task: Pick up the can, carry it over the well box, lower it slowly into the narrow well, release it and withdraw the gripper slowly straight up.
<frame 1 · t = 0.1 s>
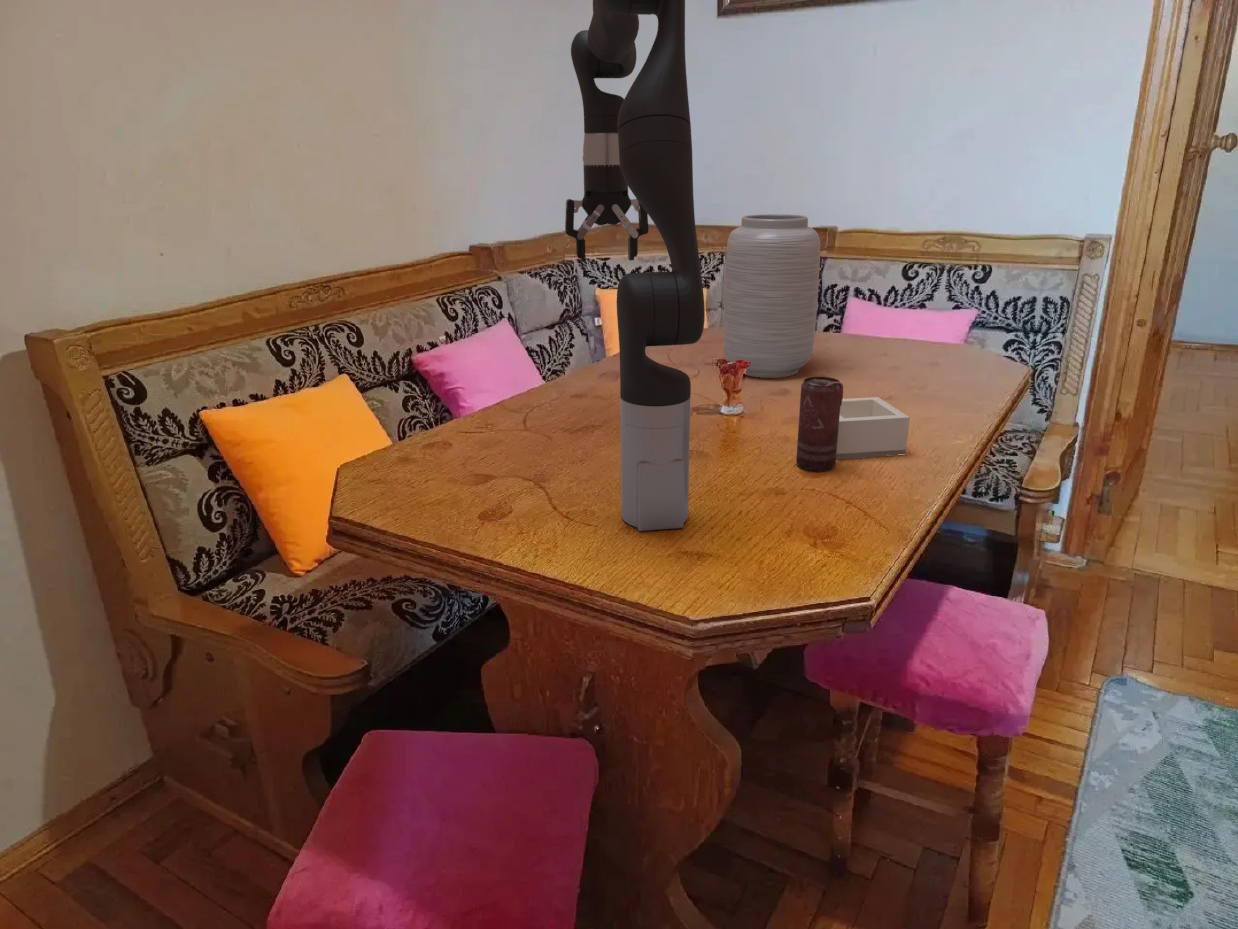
hand: (607, 260, 148), 29 cm above the table, fingers open, 8 cm apart
can: (816, 466, 135), on the table
vase: (766, 371, 192), on the table
well: (855, 445, 143), on the table
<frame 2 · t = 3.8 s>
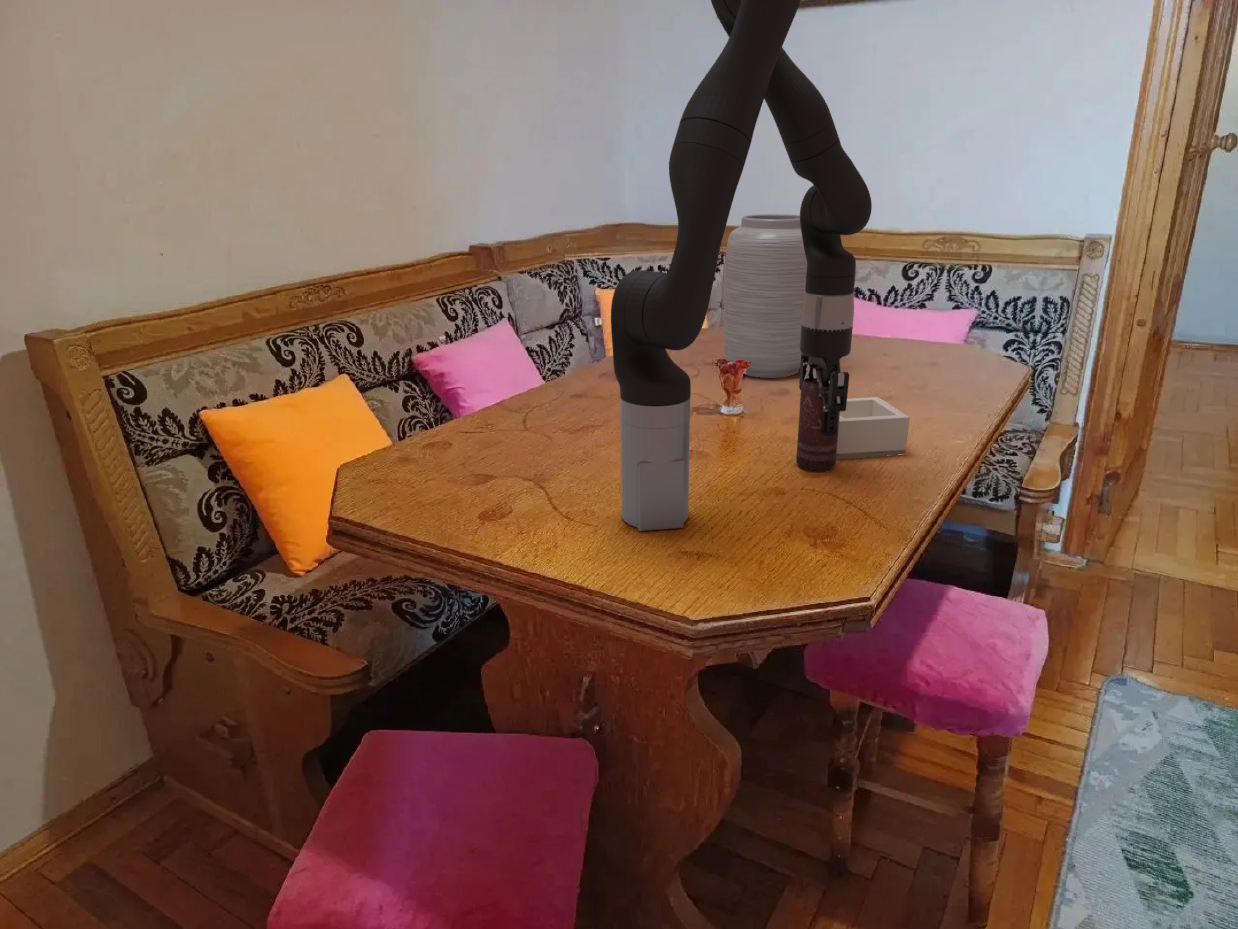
hand: (819, 427, 132), 6 cm above the table, fingers open, 7 cm apart
nothing on the table moved.
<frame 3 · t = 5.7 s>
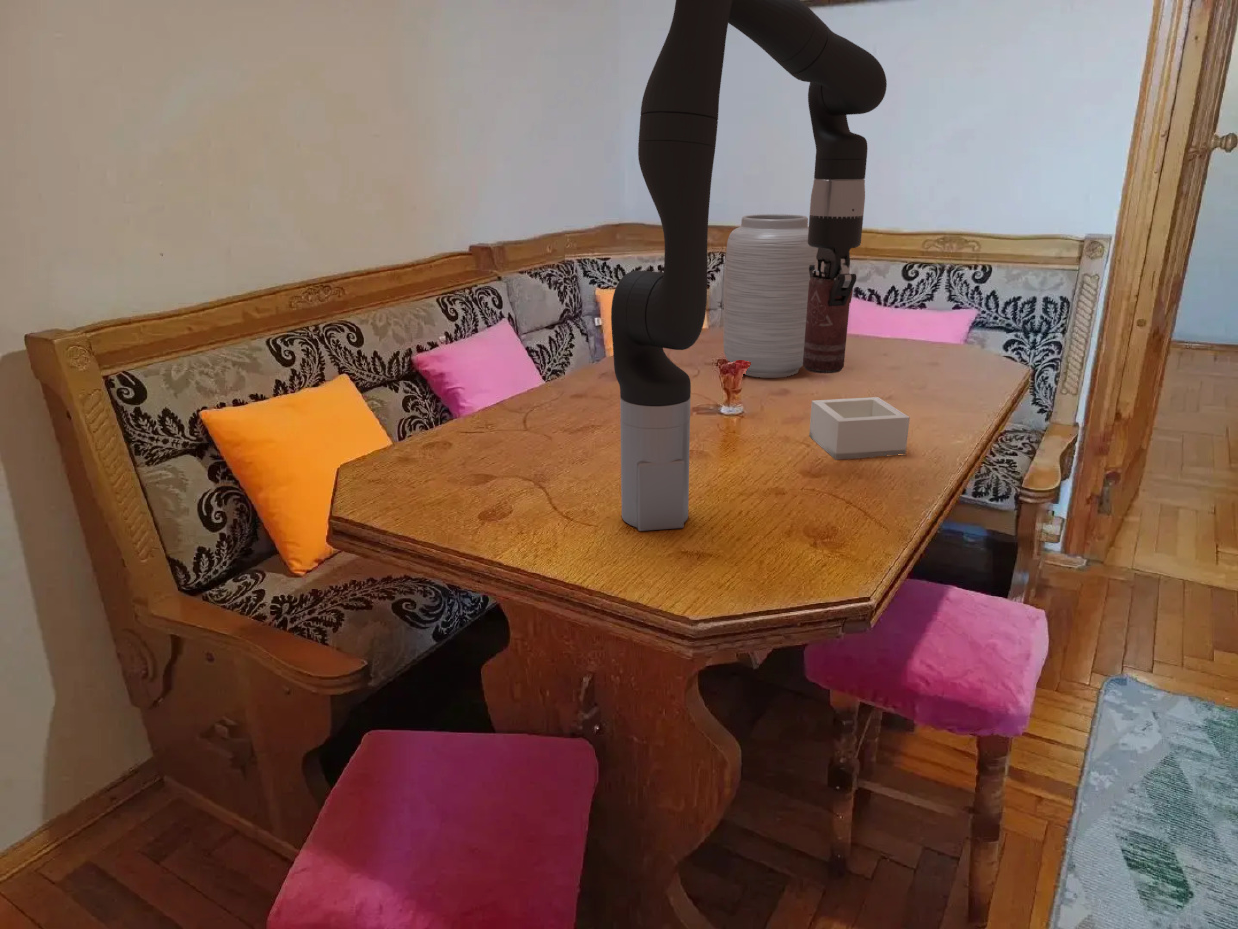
hand: (826, 332, 127), 21 cm above the table, fingers closed
can: (823, 370, 129), point 16 cm above the table, touching hand
everything else where it was.
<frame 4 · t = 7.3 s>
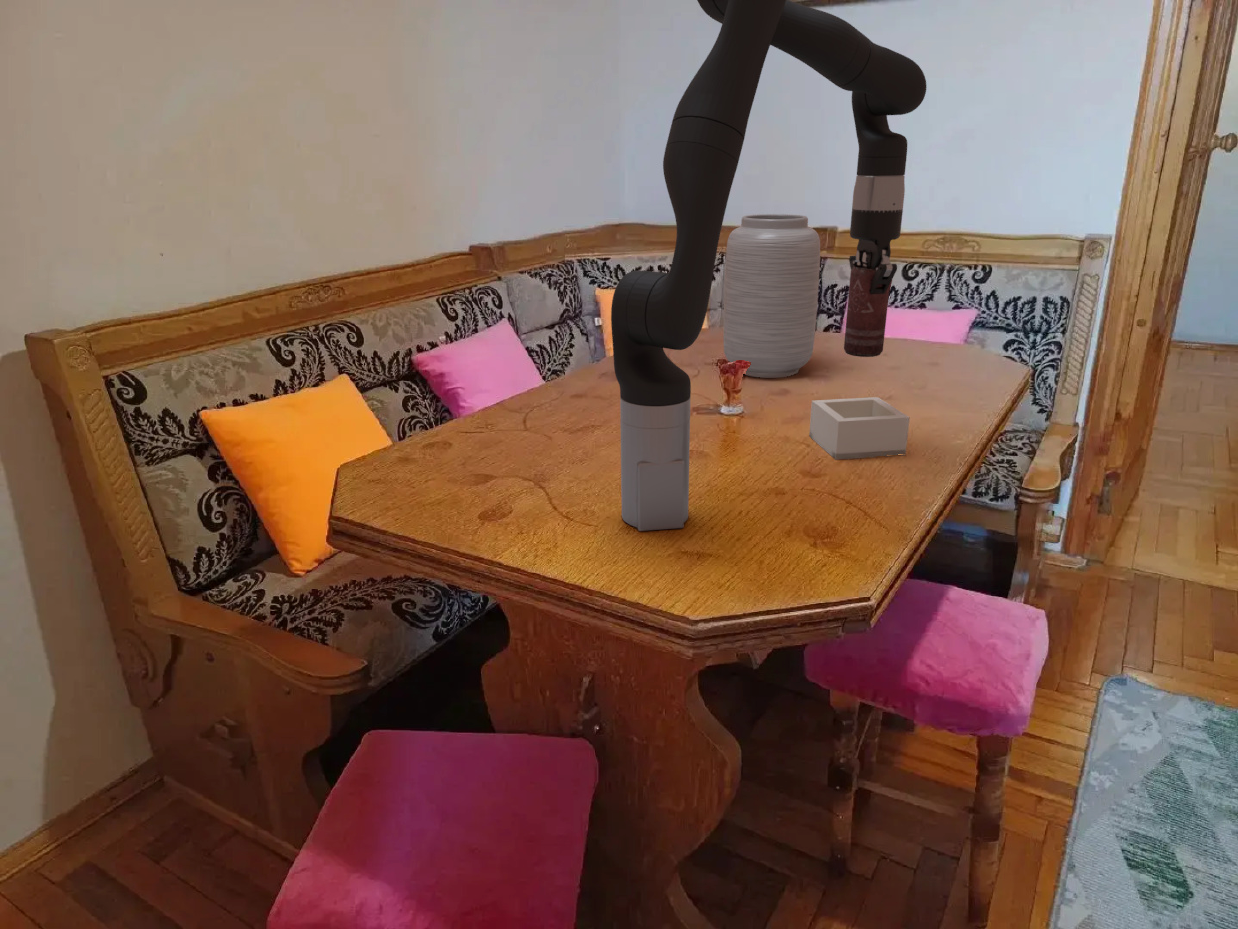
hand: (866, 319, 136), 22 cm above the table, fingers closed
can: (863, 354, 138), point 16 cm above the table, touching hand
everything else where it was.
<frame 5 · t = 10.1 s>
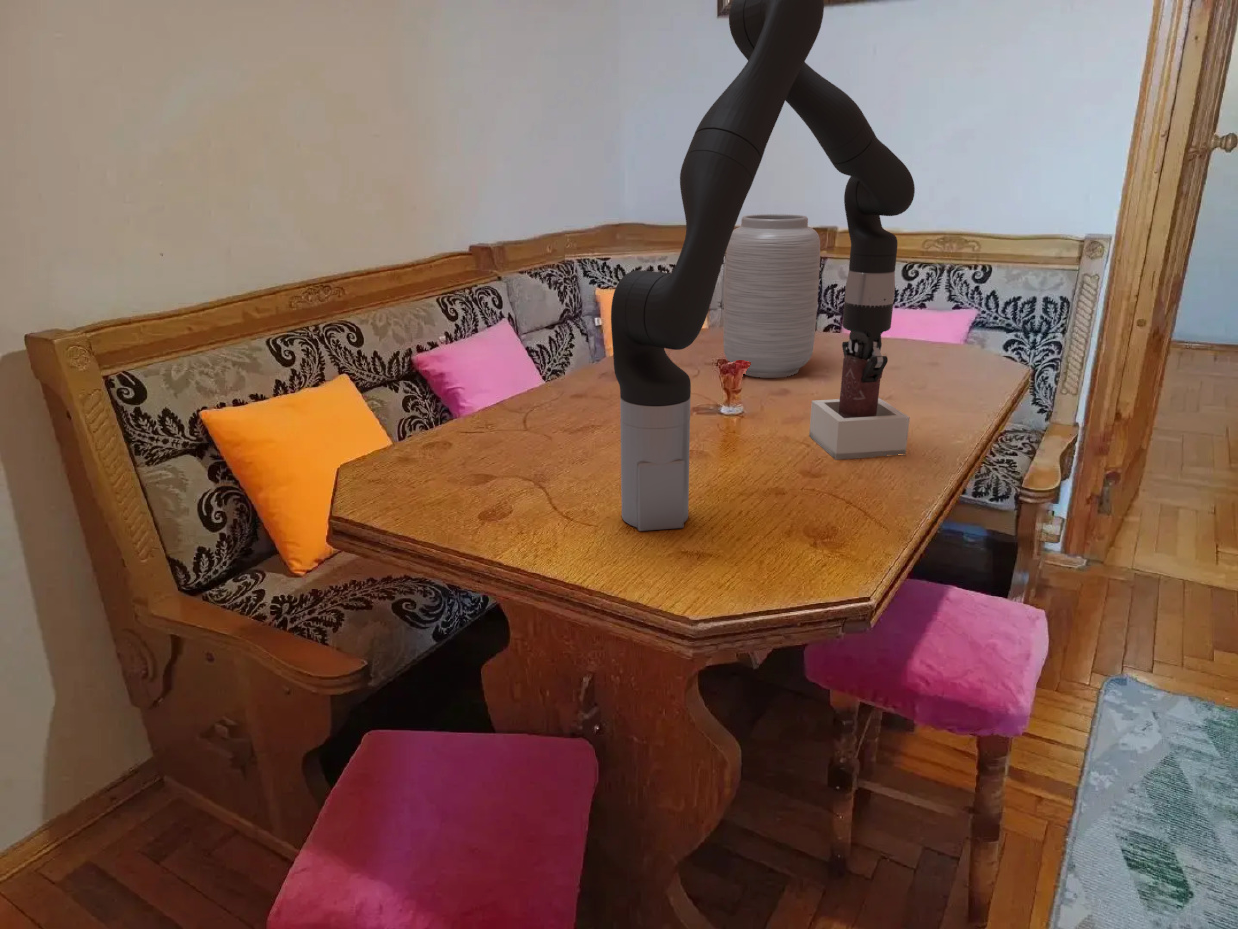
hand: (859, 403, 141), 7 cm above the table, fingers closed
can: (856, 436, 143), point 2 cm above the table, touching hand
everything else where it was.
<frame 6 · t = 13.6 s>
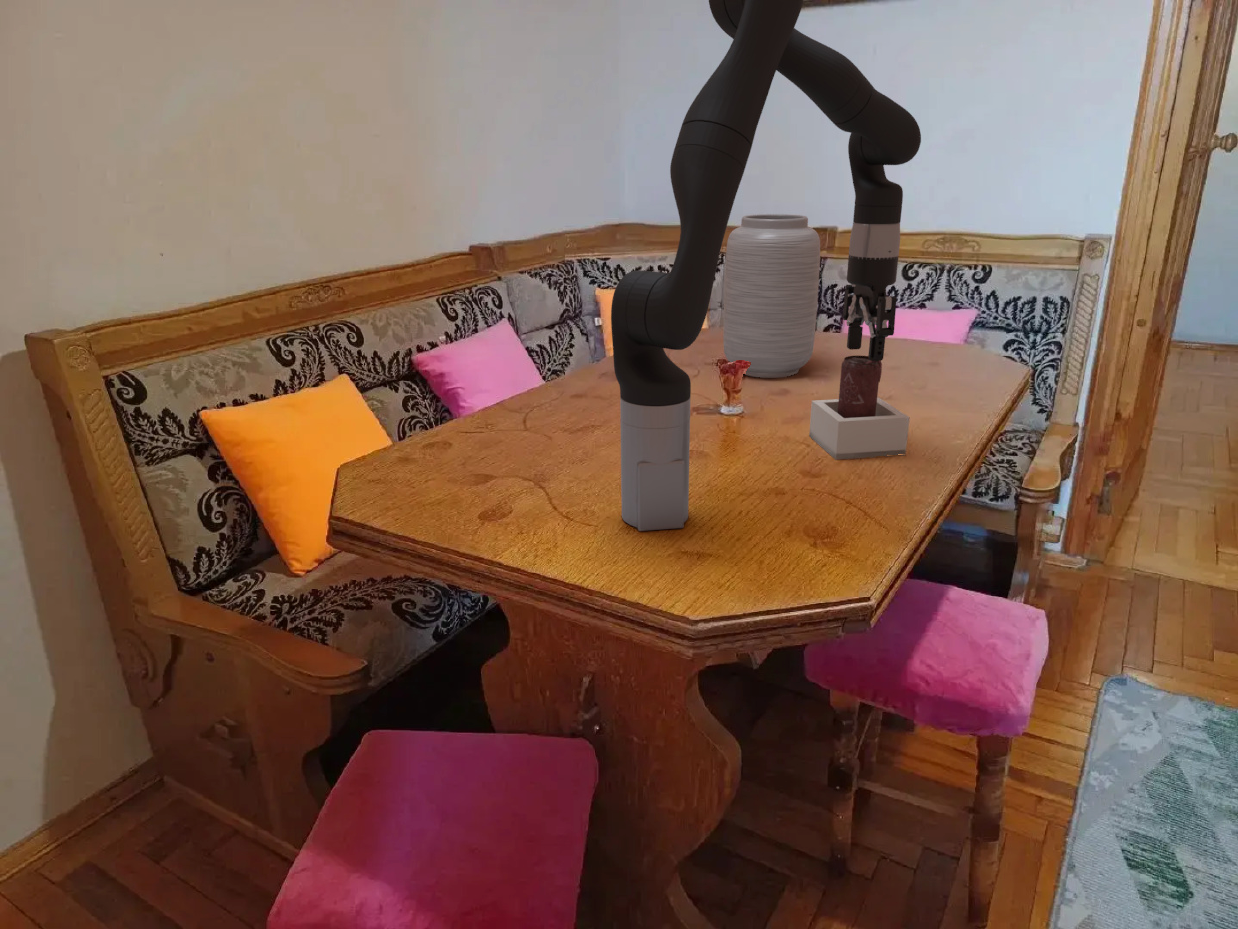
hand: (864, 354, 138), 16 cm above the table, fingers open, 8 cm apart
can: (854, 440, 143), point 1 cm above the table, touching well
everything else where it was.
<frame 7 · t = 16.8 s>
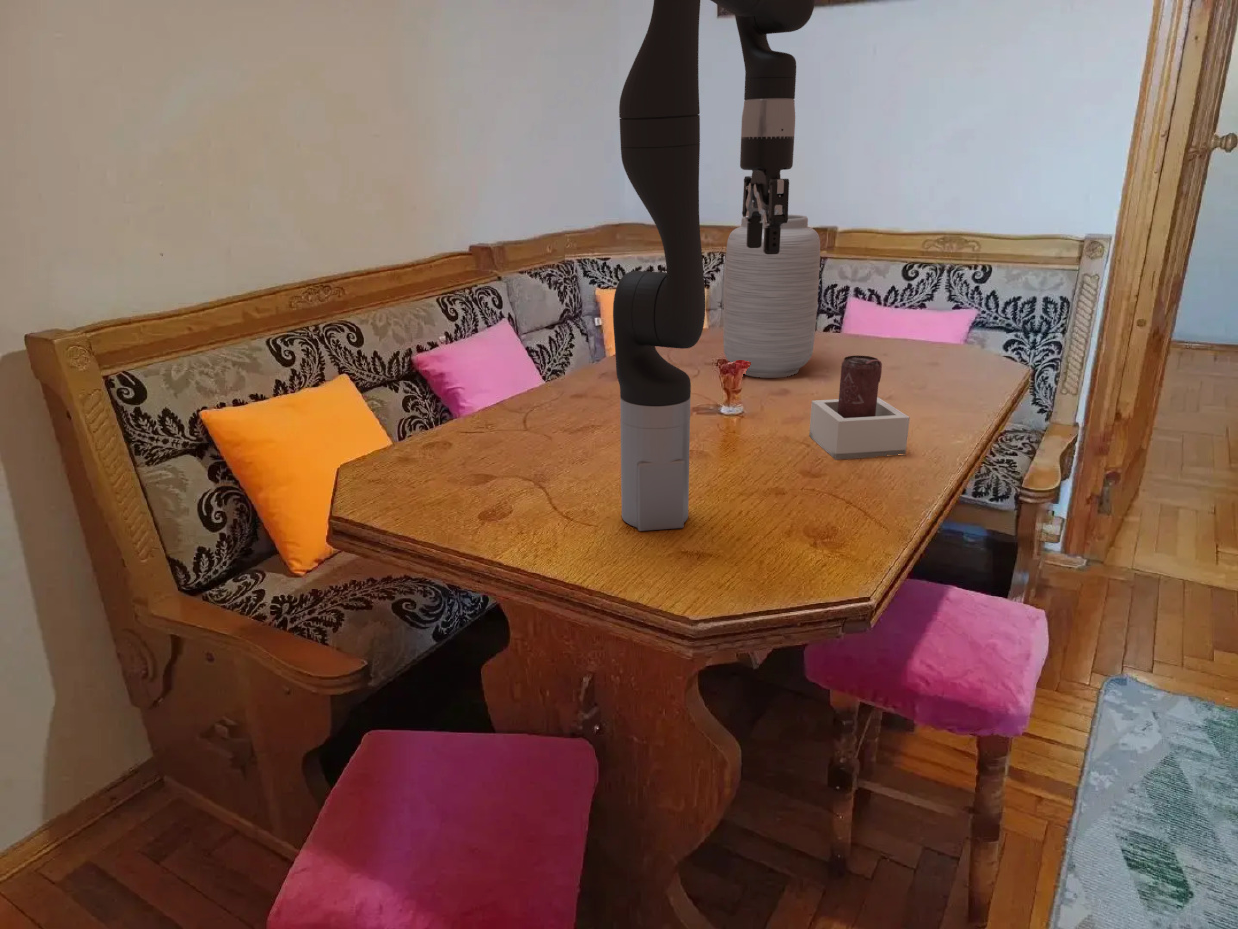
hand: (762, 250, 126), 33 cm above the table, fingers open, 8 cm apart
nothing on the table moved.
at the end: can 0.3 cm off-centre on the well, point 0.8 cm above the well's base; can tilted 0°; the gripper is holding nothing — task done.
